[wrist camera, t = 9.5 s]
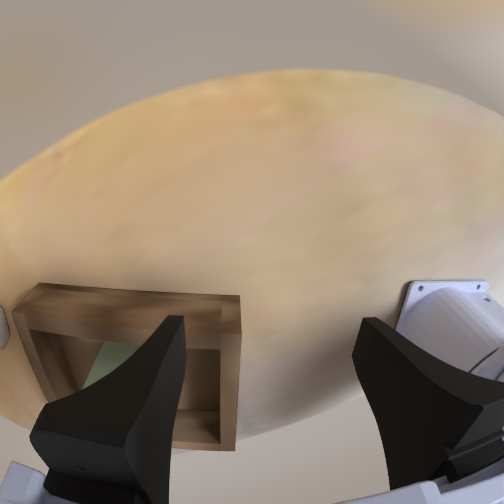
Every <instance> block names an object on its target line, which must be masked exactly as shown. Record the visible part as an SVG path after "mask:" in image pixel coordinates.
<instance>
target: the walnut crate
mask: <svg viewBox="0 0 504 504" xmlns="http://www.w3.org/2000/svg"><path fill="white" fill-rule="evenodd" d="M11 313H12V316H13V319H14V322H15V325H16V328H17V331H18V334H19V336H20V339H21V342H22V344H23V347H24V349H25V352H26V354H27V357H28V359H29V362H30V364H31V366H32V369H33V371H34V373H35V376H36V378H37V380H38V382H39V384H40V386H41V389H42V391H43V393H44V395H45V397H46V399H47V401H48V403H50V402H53V401H56V400H58V399H61V398H64V397H66V396H69V395H71V394H73V393H75V392H78V391H80V390H82V388H83V386H84V384H85V382H86V380H87V377H88V375H89V373H90V371H91V369H92V367H93V365H94V362H95V360H96V358H97V356H98V354H99V352H100V350H101V348H102V346H103V344H104V342H105V341H112V342H121V343H130V344H141V345H142V344H143V343H144V342H145V341H146V340H147V339H148V338H149V337H150V336H151V335H152V333H153V332H154V331H155V330H156V329H157V328H158V326H159V325H160V324H161V323H162V322H163V320H164V319H165V318H166V317H167V316H168V315H181V316H184V322H185V338H186V353H187V358H186V368H185V377H184V382H183V386H182V391H181V395H180V399H179V404H178V408H177V413H176V417H175V422H174V428H173V436H172V447H171V448H179V449H192V450H209V451H235V442H236V424H237V406H238V388H239V371H240V354H241V337H242V331H241V311H240V296H239V295H211V294H188V293H169V292H151V291H135V290H121V289H107V288H94V287H82V286H71V285H60V284H49V283H39V284H38V285H37V286H36V287H35V288H34V289H33V290H32V291H31V292H30V293H29V294H28V295H27V296H26V297H25V298H24V299H23V300H22V301H21V302H20V303H19V304H18V305H17V306H16V307H15V309H14V310H13V311H12V312H11Z"/></svg>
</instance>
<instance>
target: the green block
mask: <svg viewBox="0 0 504 504" xmlns="http://www.w3.org/2000/svg"><path fill="white" fill-rule="evenodd" d="M140 346H141V344H130V343H121V342H112V341H105V342H104V344H103V346H102V348H101V350H100V352H99V354H98V356H97V358H96V360H95V362H94V365H93V367H92V369H91V371H90V373H89V375H88V377H87V380H86V382H85V384H84V386H83V388H82V389H84V388H86V387H88V386H89V385H91V384H93V383H95V382H96V381H98V380H99V379H101V378H103V377H104V376H106V375H107V374H109V373H110V372H112V371H113V370H114V369H116V368H117V367H118V366H120V365H121V364H122V363H123V362H124V361H126V360H127V359H128V358H129V357H130V356H131V355H132V354H133V353H134V352H135V351H136V350H137V349H138V348H139V347H140Z"/></svg>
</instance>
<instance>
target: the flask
mask: <svg viewBox="0 0 504 504" xmlns="http://www.w3.org/2000/svg"><path fill="white" fill-rule="evenodd" d="M9 335H10V333H9V329H8V326H7V323H6V319H5V315H4V312H3V309H2V308H1V307H0V350H2V349H4V347H5V345H6V342H7V340H8V338H9Z"/></svg>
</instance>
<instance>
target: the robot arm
mask: <svg viewBox="0 0 504 504" xmlns="http://www.w3.org/2000/svg"><path fill="white" fill-rule="evenodd" d="M488 285H489V284H488V282H487V281H486V280H469V281H413V282H412V283H411V284H410V285H409V288H408V292H407V295H406V298H405V301H404V305H403V308H402V311H401V314H400V317H399V320H398V323H397V326H396V329H395V330H394V329H393V328H391V327H390V326H389V325H387V324H386V323H384V322H383V321H381V320H380V319H378V318H376V317H367V318H363V319H362V323H361V326H360V330H359V333H358V337H357V340H356V343H355V347H354V350H353V353H352V358H353V362H354V366H355V370H356V373H357V376H358V379H359V381H360V383H361V386H362V388H363V390H364V393H365V395H366V397H367V400H368V402H369V404H370V406H371V409H372V411H373V414H374V416H375V419H376V422H377V425H378V428H379V432H380V436H381V440H382V444H383V448H384V453H385V457H386V463H387V469H388V476H389V485H390V491H387V492H383V493H379V494H375V495H371V496H366V497H362V498H357V499H352V500H347V501H342V502H338V503H334V504H504V307H502V306H501V305H500V304H499V303H498V302H497V301H496V300H494V299H493V298H492V297H491V296H490V295H489V294H487V293H486V291H487V289H488ZM420 286H421V288H419V287H420ZM418 288H419V289H418ZM186 358H187V353H186V338H185V322H184V316H181V315H168V316H167V317H166V318H165V319H164V320H163V322H162V323H161V324H160V325H159V326H158V328H157V329H156V330H155V331H154V332H153V333H152V335H151V336H150V337H149V338H148V339H147V340H146V341H145V342H144V343H143V344H142V345H141V346H140V347H139V348H138V349H137V350H136V351H135V352H134V353H133V354H132V355H131V356H130V357H129V358H128V359H127V360H126V361H124V362H123V363H122V364H121V365H120V366H118V367H117V368H116V369H114V370H113V371H112V372H110V373H109V374H107V375H106V376H104V377H103V378H101V379H99V380H98V381H96V382H95V383H93V384H91V385H89V386H88V387H86V388H84V389H82V390H80V391H78V392H75V393H73V394H71V395H69V396H66V397H64V398H61V399H58V400H56V401H53V402H50V403H47V404H45V406H44V407H43V409H42V411H41V412H40V414H39V416H38V418H37V421H36V423H35V425H34V427H33V429H32V431H31V434H30V436H29V437H30V442H31V444H32V446H33V447H34V449H35V450H36V452H37V453H38V454H39V456H40V457H41V458H42V460H43V461H44V462H45V463H46V465H47V466H48V467H49V471H48V474H47V476H46V475H45V474H43V473H42V472H40V471H38V470H36V469H33V468H30V467H28V466H25V465H22V464H20V463H18V462H15V461H11V463H10V465H9V467H8V469H7V472H6V474H5V477H4V479H3V482H2V485H1V487H0V504H169V477H170V476H169V475H170V460H171V447H172V436H173V428H174V422H175V417H176V413H177V408H178V404H179V399H180V395H181V391H182V386H183V382H184V377H185V368H186Z"/></svg>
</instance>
